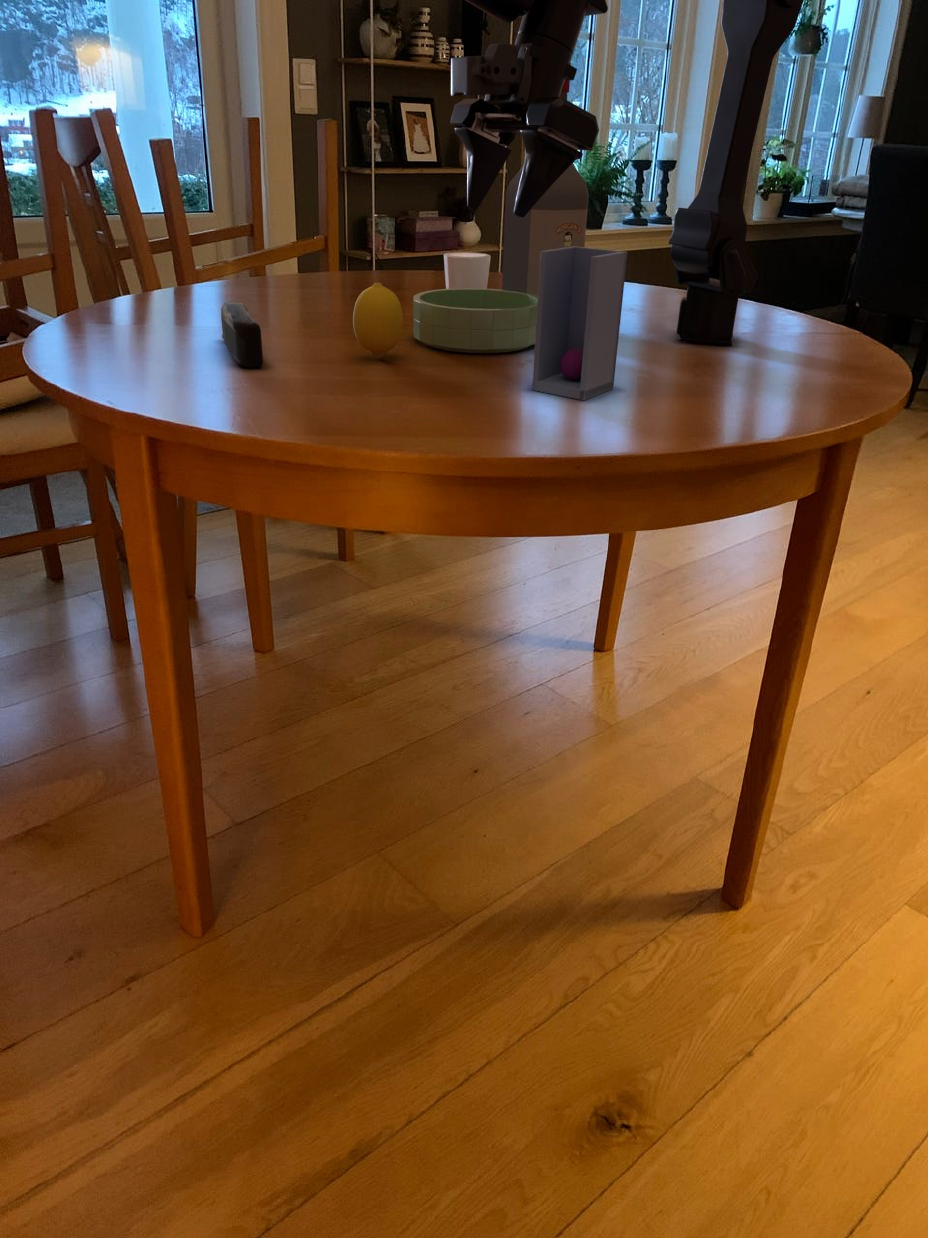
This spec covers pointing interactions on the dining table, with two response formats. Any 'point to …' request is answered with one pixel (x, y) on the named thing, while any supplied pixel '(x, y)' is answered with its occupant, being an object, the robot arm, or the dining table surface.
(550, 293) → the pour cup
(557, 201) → the liquor
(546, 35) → the robot arm
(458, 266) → the white cup
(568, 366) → the ball
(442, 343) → the bowl
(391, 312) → the lemon
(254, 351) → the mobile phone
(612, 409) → the dining table surface
